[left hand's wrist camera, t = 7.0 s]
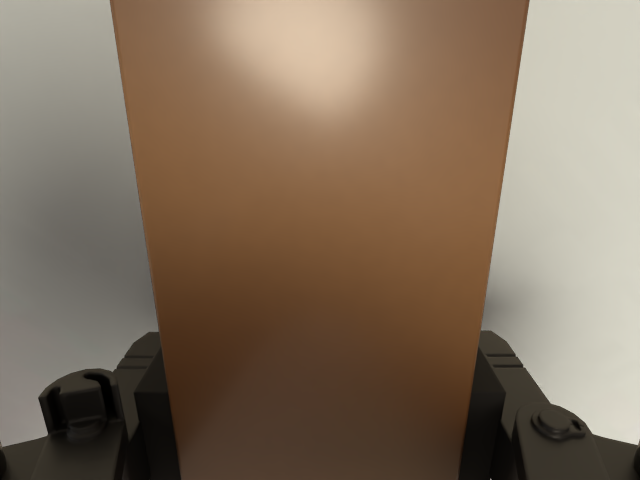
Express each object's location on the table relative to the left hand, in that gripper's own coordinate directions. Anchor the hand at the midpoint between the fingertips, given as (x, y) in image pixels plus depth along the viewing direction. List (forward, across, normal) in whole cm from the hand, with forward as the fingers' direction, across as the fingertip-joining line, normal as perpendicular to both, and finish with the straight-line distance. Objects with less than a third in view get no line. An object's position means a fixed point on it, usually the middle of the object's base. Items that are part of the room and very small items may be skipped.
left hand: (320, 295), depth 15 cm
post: (+1, 0, -33) cm, 33 cm away
